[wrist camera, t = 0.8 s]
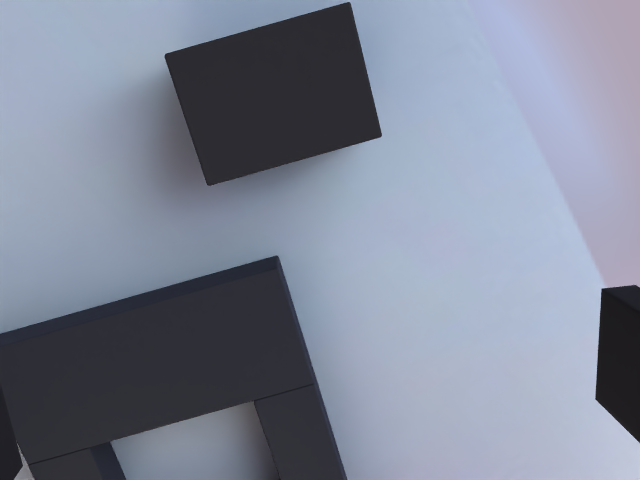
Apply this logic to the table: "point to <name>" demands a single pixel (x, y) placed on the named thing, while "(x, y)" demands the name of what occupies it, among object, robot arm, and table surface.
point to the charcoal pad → (167, 374)
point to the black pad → (275, 94)
